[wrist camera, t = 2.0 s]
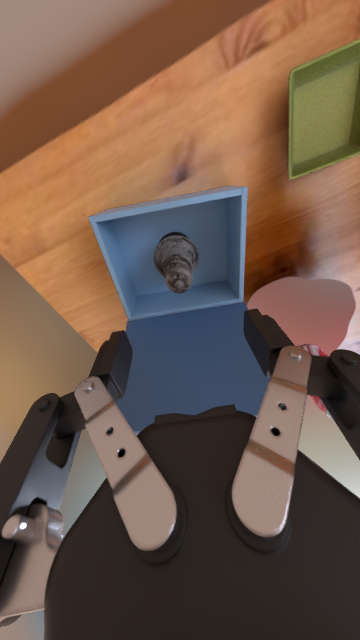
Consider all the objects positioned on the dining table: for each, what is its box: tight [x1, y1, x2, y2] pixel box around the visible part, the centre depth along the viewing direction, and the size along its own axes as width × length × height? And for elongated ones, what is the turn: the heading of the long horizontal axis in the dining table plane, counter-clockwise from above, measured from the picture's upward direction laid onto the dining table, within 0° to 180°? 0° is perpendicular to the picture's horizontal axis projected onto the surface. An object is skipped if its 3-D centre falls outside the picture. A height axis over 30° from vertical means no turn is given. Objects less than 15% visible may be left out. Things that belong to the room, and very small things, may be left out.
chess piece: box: [154, 232, 199, 294], centre depth 23 cm, size 6×6×12 cm
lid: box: [117, 302, 270, 434], centre depth 22 cm, size 14×16×1 cm
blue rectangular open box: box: [88, 186, 248, 320], centre depth 26 cm, size 13×16×7 cm
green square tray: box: [288, 38, 360, 180], centre depth 20 cm, size 9×9×2 cm
